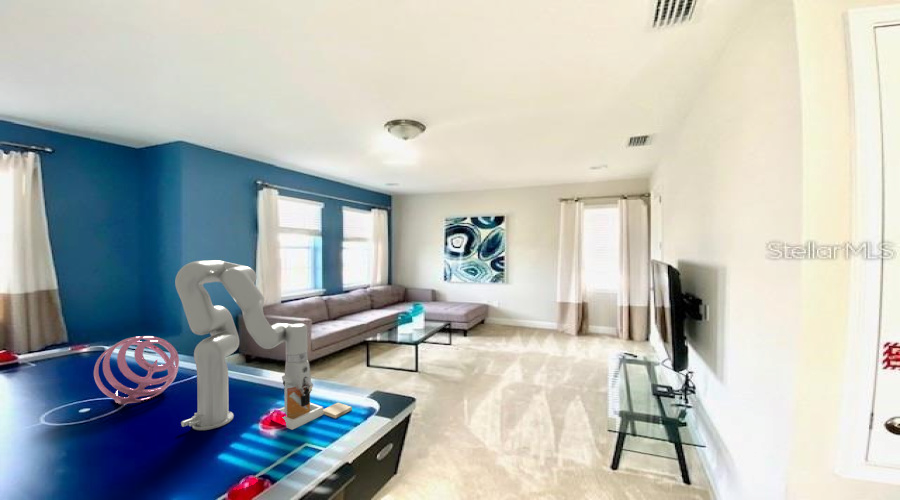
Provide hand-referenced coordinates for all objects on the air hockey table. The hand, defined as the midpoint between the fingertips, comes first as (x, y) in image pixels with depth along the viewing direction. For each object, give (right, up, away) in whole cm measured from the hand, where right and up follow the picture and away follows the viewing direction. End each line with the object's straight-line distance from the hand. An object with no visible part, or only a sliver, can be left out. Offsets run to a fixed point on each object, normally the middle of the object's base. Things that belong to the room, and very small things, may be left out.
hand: (297, 402), depth 131 cm
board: (+13, -6, +5) cm, 15 cm away
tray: (0, -6, 0) cm, 6 cm away
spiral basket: (-76, -7, +18) cm, 78 cm away
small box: (0, -6, 0) cm, 6 cm away
